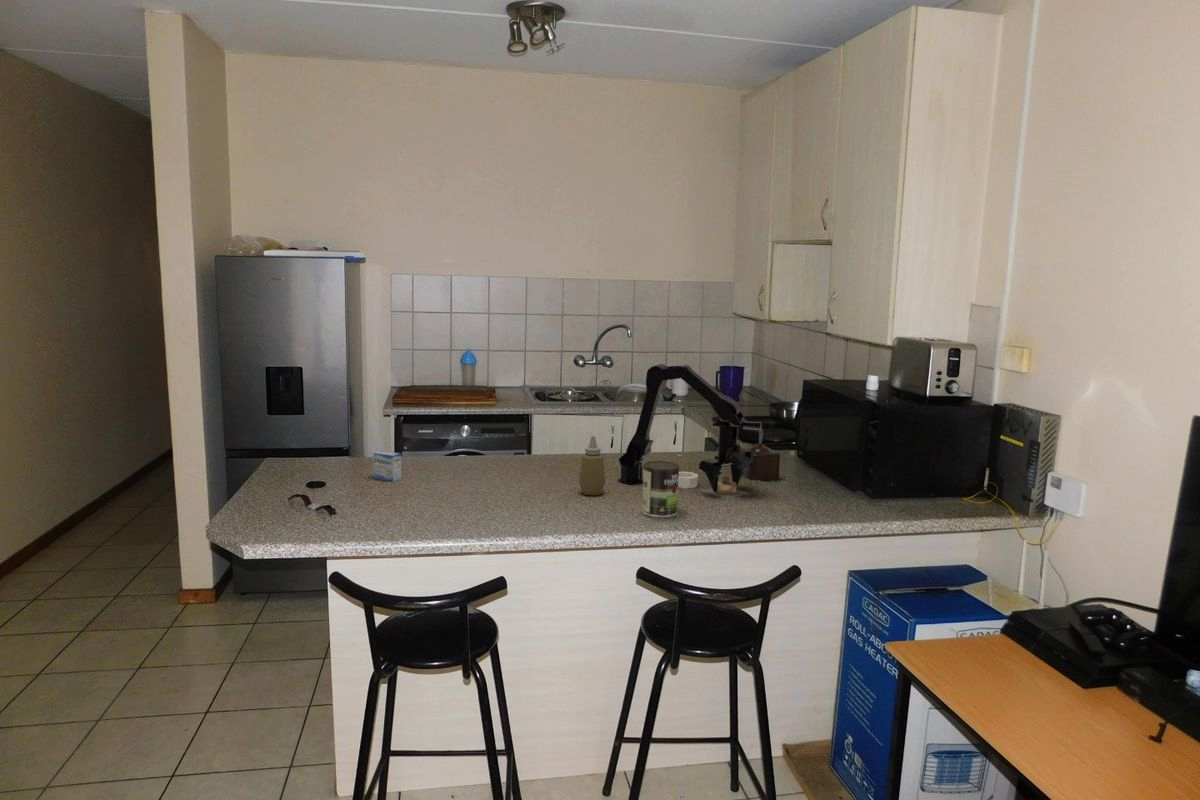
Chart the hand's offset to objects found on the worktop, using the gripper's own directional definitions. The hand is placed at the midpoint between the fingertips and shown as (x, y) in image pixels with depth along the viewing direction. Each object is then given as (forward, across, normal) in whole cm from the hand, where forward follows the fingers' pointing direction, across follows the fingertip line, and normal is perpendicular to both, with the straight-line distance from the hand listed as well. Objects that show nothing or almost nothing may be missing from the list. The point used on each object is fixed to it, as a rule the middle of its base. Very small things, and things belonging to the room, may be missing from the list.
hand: (725, 489), depth 250 cm
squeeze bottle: (+2, -35, +23) cm, 42 cm away
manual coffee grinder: (+2, +22, +9) cm, 24 cm away
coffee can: (+2, -30, -3) cm, 30 cm away
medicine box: (+2, -81, +72) cm, 108 cm away
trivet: (+1, 0, 0) cm, 1 cm away
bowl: (+2, -5, +13) cm, 14 cm away
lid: (+1, 0, 0) cm, 1 cm away
